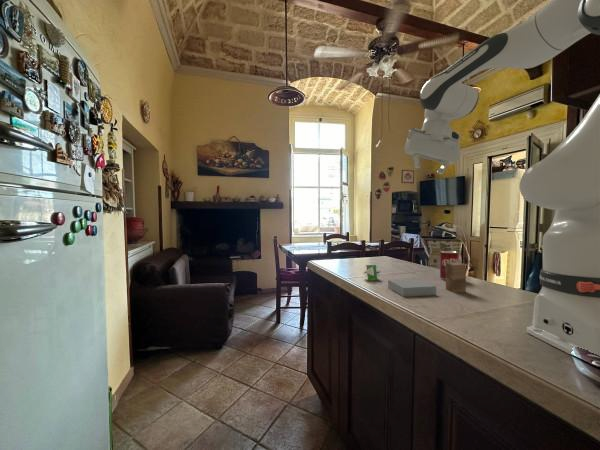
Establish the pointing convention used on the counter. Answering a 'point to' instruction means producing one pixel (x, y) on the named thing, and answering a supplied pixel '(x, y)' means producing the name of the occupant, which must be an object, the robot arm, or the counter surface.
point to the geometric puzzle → (371, 272)
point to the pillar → (456, 277)
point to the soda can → (447, 261)
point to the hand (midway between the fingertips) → (428, 170)
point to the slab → (411, 287)
